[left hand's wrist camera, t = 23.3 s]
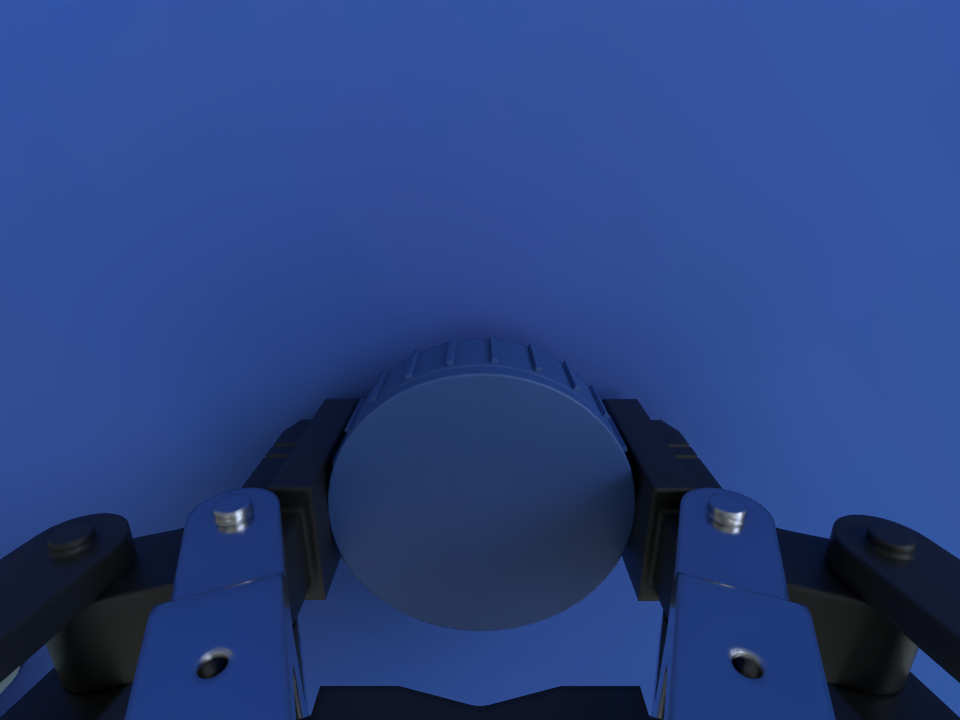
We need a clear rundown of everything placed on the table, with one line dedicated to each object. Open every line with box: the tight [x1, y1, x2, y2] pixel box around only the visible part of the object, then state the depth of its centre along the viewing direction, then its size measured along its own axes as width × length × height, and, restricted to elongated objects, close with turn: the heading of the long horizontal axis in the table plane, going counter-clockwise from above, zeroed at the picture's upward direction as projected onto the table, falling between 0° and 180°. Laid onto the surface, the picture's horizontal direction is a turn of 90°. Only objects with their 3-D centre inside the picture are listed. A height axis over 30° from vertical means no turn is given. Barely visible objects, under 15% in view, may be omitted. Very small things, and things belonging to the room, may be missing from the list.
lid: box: [327, 336, 636, 631], centre depth 10 cm, size 6×6×2 cm
